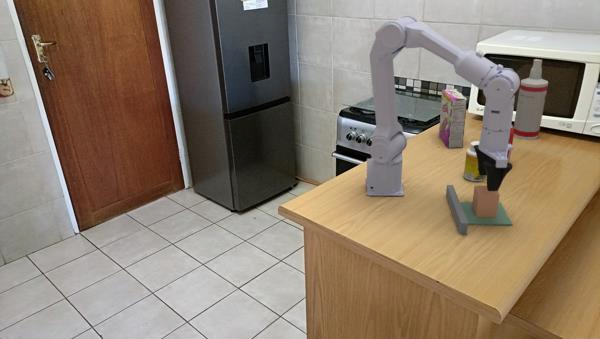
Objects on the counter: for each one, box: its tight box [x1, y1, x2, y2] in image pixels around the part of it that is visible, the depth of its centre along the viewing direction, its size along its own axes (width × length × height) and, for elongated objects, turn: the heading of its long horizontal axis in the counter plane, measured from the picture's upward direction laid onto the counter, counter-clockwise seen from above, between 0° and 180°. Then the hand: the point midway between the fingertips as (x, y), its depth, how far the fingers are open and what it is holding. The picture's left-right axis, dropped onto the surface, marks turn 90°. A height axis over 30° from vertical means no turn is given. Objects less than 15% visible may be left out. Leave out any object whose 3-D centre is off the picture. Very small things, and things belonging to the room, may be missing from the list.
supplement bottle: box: [463, 140, 486, 182], centre depth 119 cm, size 6×6×10 cm
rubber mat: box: [460, 201, 513, 227], centre depth 104 cm, size 10×10×1 cm
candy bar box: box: [438, 88, 468, 149], centre depth 141 cm, size 11×5×16 cm, turn 179°
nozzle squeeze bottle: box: [512, 58, 549, 141], centre depth 140 cm, size 8×8×25 cm
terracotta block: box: [471, 185, 501, 217], centre depth 103 cm, size 4×4×6 cm
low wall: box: [445, 184, 469, 236], centre depth 105 cm, size 2×18×3 cm, turn 173°
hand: (488, 182), depth 101 cm, fingers open, 7 cm apart
